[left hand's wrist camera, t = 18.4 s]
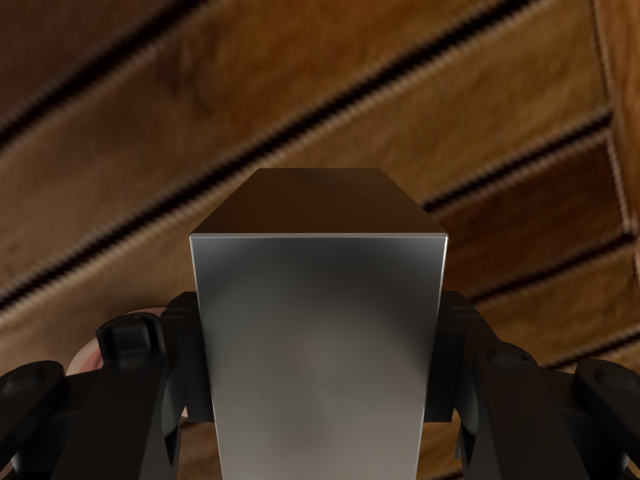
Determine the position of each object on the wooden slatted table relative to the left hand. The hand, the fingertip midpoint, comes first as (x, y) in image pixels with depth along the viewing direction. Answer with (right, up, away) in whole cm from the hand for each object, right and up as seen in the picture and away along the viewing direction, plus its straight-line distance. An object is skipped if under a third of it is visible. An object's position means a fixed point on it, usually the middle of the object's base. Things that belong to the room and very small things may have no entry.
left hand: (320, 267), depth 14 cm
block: (0, +1, +2) cm, 2 cm away
